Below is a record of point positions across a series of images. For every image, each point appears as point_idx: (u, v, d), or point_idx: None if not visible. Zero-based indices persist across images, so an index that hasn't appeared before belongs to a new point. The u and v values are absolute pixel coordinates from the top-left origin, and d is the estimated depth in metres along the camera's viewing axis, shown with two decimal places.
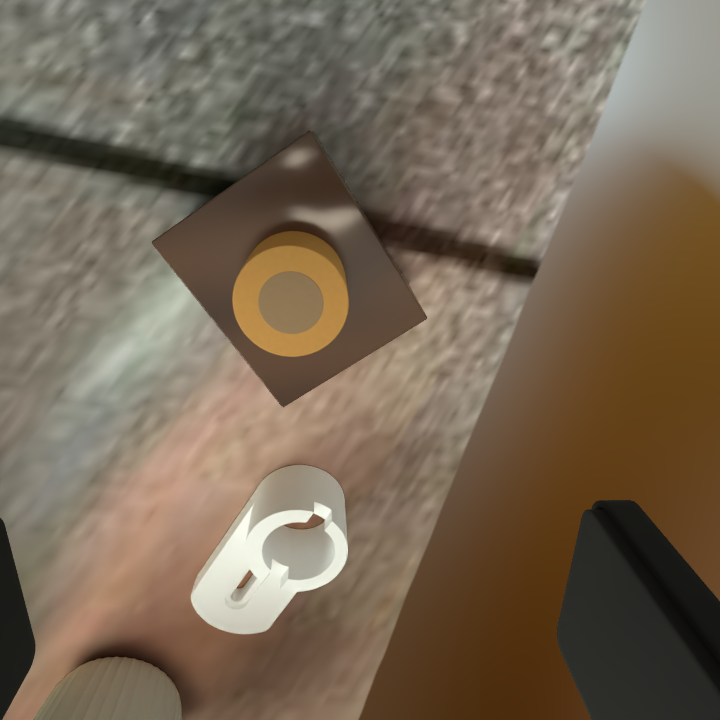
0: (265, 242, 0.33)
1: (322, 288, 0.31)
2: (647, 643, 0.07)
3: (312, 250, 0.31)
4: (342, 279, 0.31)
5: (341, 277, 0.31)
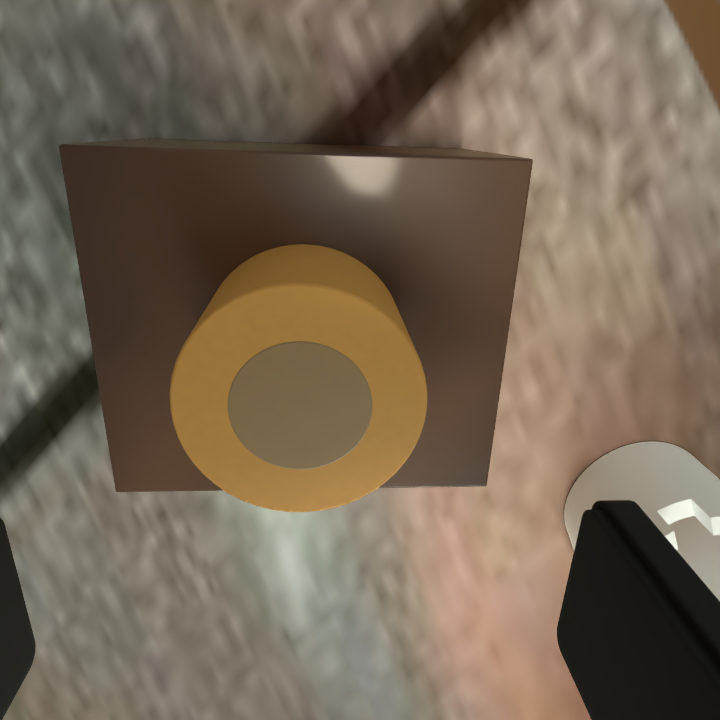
0: None
1: (310, 336, 0.14)
2: (647, 643, 0.07)
3: (222, 305, 0.13)
4: (319, 287, 0.13)
5: (314, 286, 0.13)
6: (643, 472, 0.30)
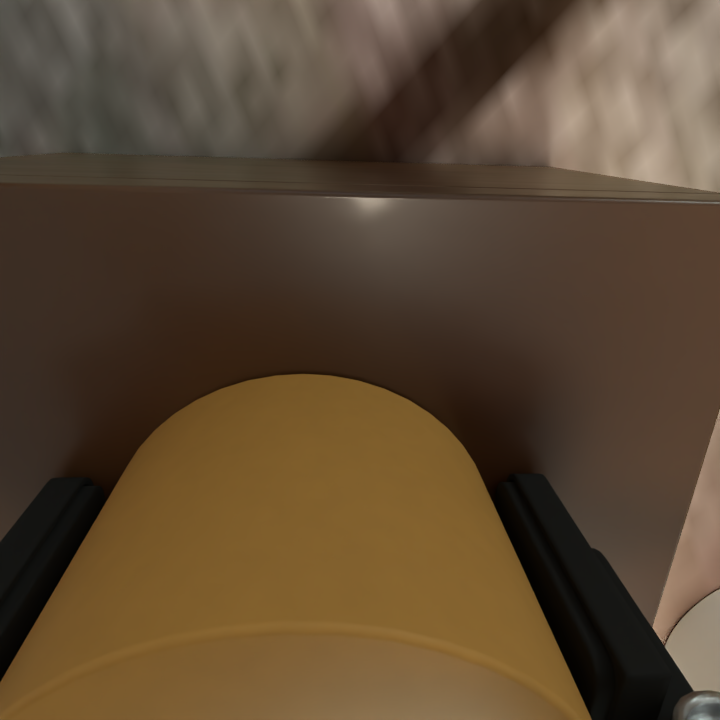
0: None
1: None
2: (537, 599, 0.08)
3: (50, 685, 0.04)
4: (344, 633, 0.04)
5: (328, 629, 0.04)
6: None
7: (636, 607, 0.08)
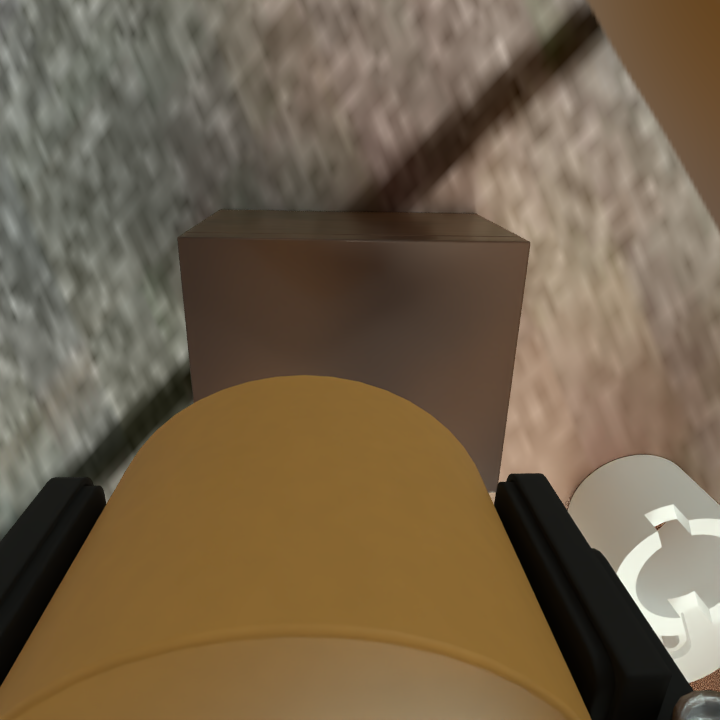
0: None
1: None
2: None
3: (52, 688, 0.04)
4: (346, 635, 0.04)
5: (330, 632, 0.04)
6: (634, 481, 0.35)
7: (636, 607, 0.08)
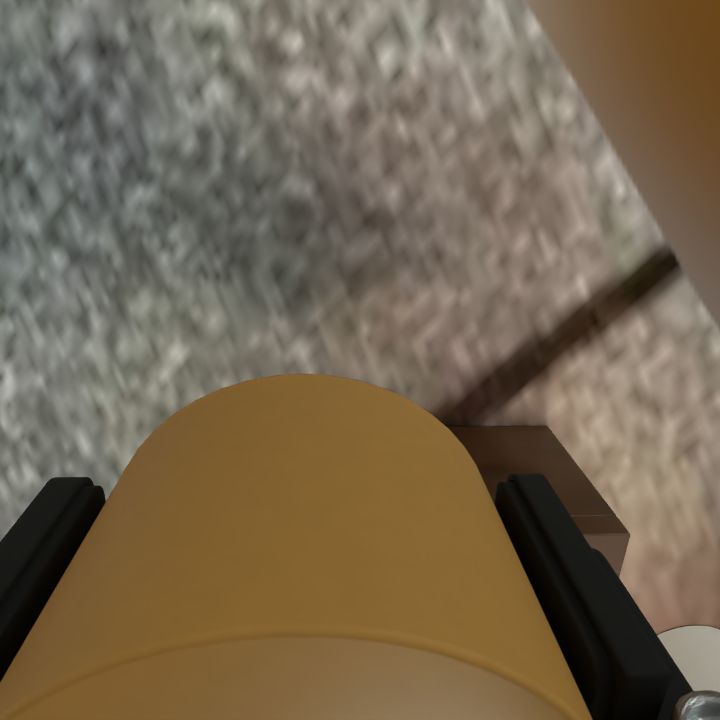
0: None
1: None
2: None
3: (49, 688, 0.04)
4: (345, 635, 0.04)
5: (329, 631, 0.04)
6: (691, 663, 0.35)
7: (636, 607, 0.08)
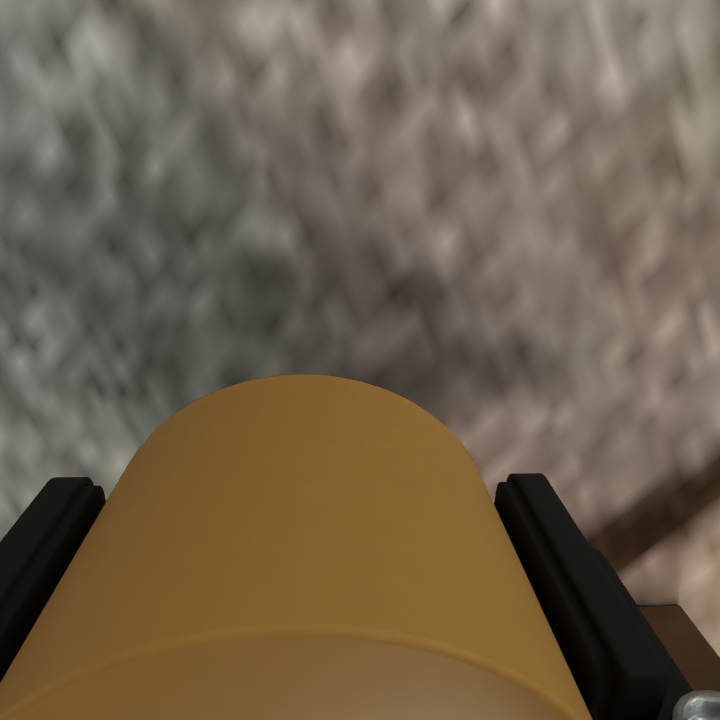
0: None
1: None
2: None
3: (49, 688, 0.04)
4: (345, 635, 0.04)
5: (329, 632, 0.04)
6: None
7: (636, 607, 0.08)
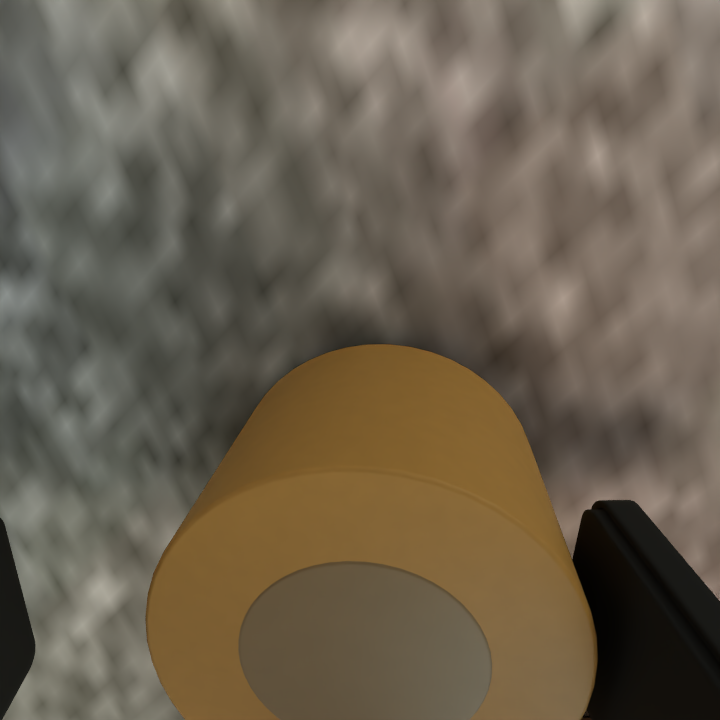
0: None
1: (384, 556, 0.07)
2: (647, 643, 0.07)
3: (230, 495, 0.07)
4: (404, 476, 0.07)
5: (394, 473, 0.07)
6: None
7: None
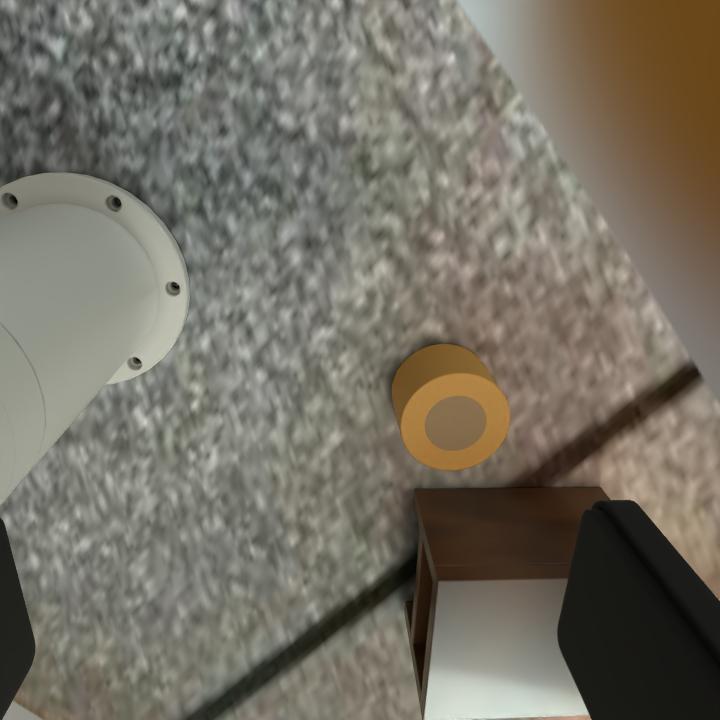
0: (394, 397, 0.35)
1: (463, 393, 0.32)
2: (647, 643, 0.07)
3: (428, 382, 0.32)
4: (468, 374, 0.32)
5: (466, 373, 0.32)
6: None
7: None
